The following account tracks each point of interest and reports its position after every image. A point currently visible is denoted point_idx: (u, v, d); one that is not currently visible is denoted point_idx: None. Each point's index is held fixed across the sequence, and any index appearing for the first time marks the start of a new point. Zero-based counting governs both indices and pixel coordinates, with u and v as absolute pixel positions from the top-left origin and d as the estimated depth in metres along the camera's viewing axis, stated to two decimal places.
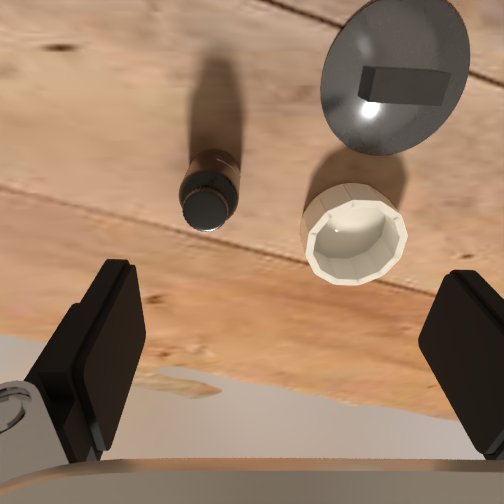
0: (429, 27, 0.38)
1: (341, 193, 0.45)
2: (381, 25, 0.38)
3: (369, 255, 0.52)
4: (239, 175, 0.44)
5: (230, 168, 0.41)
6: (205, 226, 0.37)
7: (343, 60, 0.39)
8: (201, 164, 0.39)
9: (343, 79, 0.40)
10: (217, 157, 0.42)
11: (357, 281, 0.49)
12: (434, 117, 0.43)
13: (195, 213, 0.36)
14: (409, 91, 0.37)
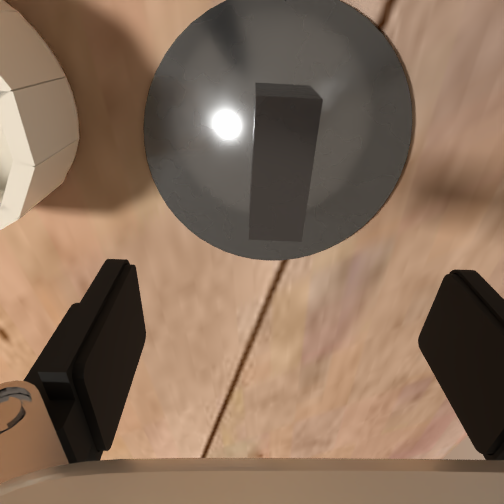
0: (354, 190, 0.24)
1: (34, 68, 0.18)
2: (371, 109, 0.21)
3: None
4: None
5: None
6: None
7: (323, 39, 0.19)
8: None
9: (287, 44, 0.19)
10: None
11: None
12: (221, 230, 0.26)
13: None
14: (274, 180, 0.19)
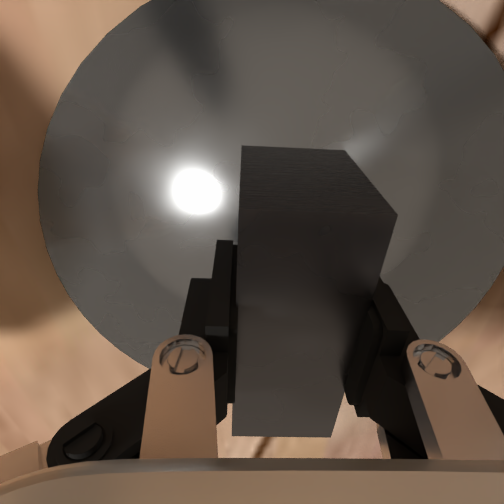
0: (410, 310, 0.14)
1: None
2: (454, 189, 0.12)
3: None
4: None
5: None
6: None
7: (376, 65, 0.10)
8: None
9: (303, 76, 0.10)
10: None
11: None
12: None
13: None
14: (280, 354, 0.09)
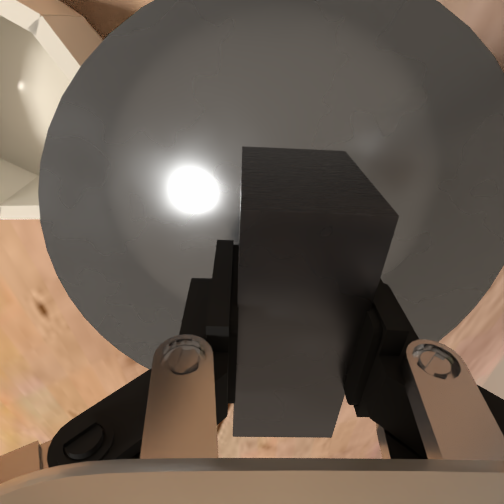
0: (410, 310, 0.14)
1: None
2: (453, 190, 0.12)
3: None
4: None
5: None
6: None
7: (376, 66, 0.10)
8: None
9: (304, 77, 0.10)
10: None
11: None
12: None
13: None
14: (282, 355, 0.09)
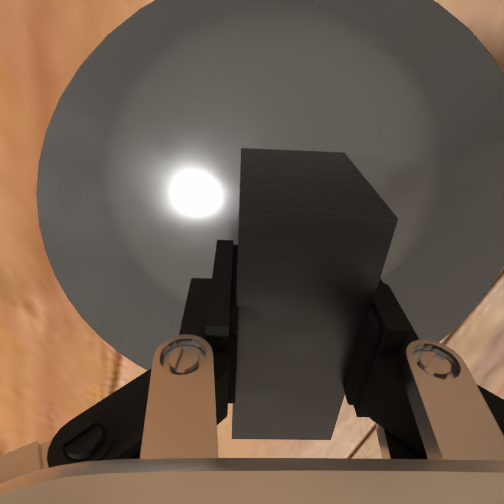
0: (409, 311, 0.14)
1: None
2: (453, 191, 0.12)
3: None
4: None
5: None
6: None
7: (376, 68, 0.10)
8: None
9: (303, 79, 0.10)
10: None
11: None
12: None
13: None
14: (280, 358, 0.09)
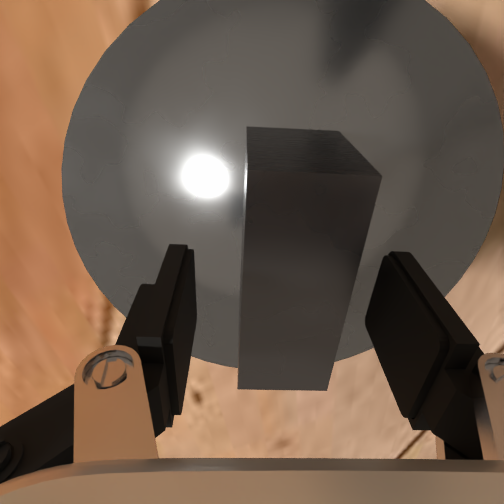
0: None
1: None
2: (437, 167, 0.13)
3: None
4: None
5: None
6: None
7: (366, 54, 0.11)
8: None
9: (302, 63, 0.11)
10: None
11: None
12: (198, 335, 0.17)
13: None
14: (282, 307, 0.10)
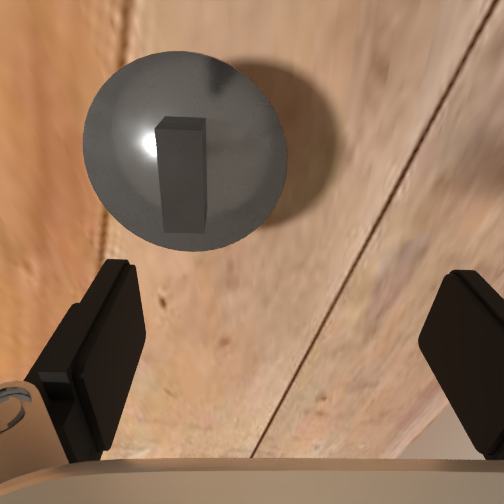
0: (251, 194, 0.31)
1: None
2: (253, 134, 0.29)
3: None
4: None
5: None
6: None
7: (210, 85, 0.26)
8: None
9: (185, 89, 0.27)
10: None
11: None
12: (152, 228, 0.33)
13: None
14: (176, 187, 0.26)
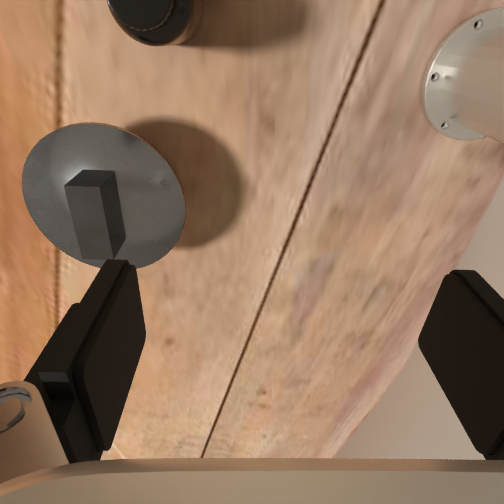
0: (159, 227, 0.39)
1: None
2: (154, 182, 0.36)
3: None
4: None
5: (189, 32, 0.31)
6: None
7: (115, 147, 0.34)
8: None
9: (95, 150, 0.35)
10: (199, 11, 0.31)
11: None
12: None
13: None
14: (86, 226, 0.34)
